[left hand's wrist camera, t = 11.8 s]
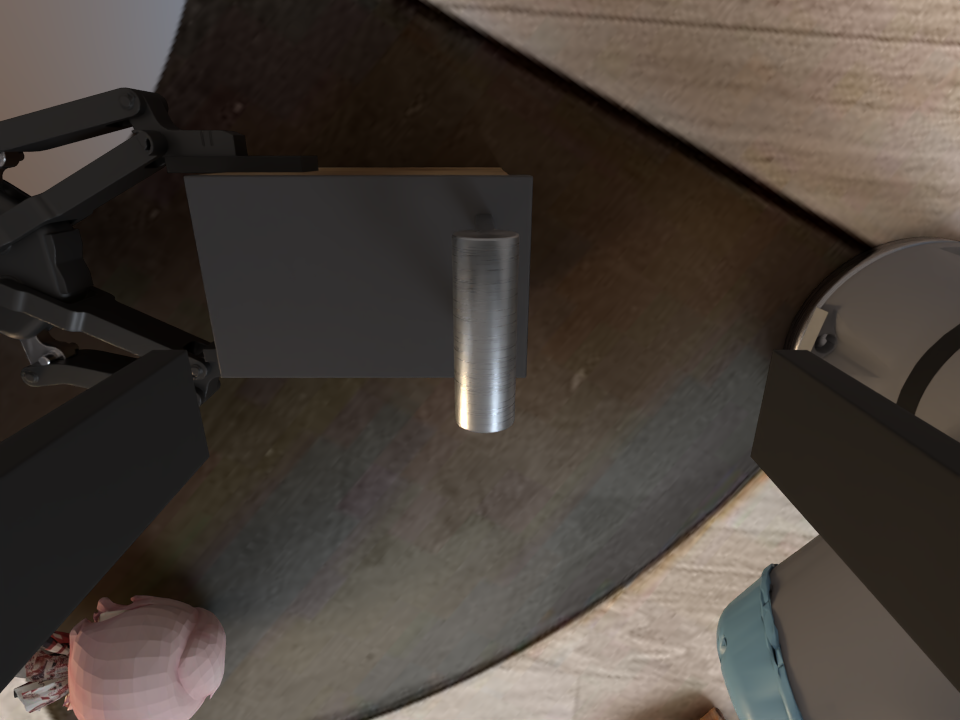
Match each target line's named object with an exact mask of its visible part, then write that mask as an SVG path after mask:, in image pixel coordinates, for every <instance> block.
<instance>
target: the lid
mask: <svg viewBox="0 0 960 720" xmlns="http://www.w3.org/2000/svg"><path fill="white" fill-rule="evenodd" d="M184 183H185V188H186V194H187V199H188V204H189V209H190V215H191V220H192V225H193V231H194V236H195V241H196V246H197V252H198V257H199V262H200V268H201V273H202V278H203V283H204V289H205V294H206V299H207V304H208V310H209V315H210V320H211V326H212V331H213V336H214V341H215V347H216V352H217V357H218V363H219V368H220V373H221V377H222V378H455V420H456V422H457V424H458V425H459V426H460V427H461V428H463V429H465V430H468V431H471V432H477V433H494V432H499V431H502V430H505V429H507V428H509V427H510V426H511V425H512V424H513V422H514V419H515V381H516V378H525V377H526V369H527V340H528V310H529V280H530V251H531V221H532V192H533V177H532V176H531V175H188V176H184Z"/></svg>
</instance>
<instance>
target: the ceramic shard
mask: <svg viewBox="0 0 960 720" xmlns="http://www.w3.org/2000/svg"><path fill="white" fill-rule="evenodd" d="M699 720H725V719H724V717H723V715H722V713H721V711H720V710H719V709H717V708H714V707H713V708H712V709H711V710H710V711H709V712H708V713H707V714H706V715H704V716H703V717H702V718H700V719H699Z"/></svg>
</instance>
